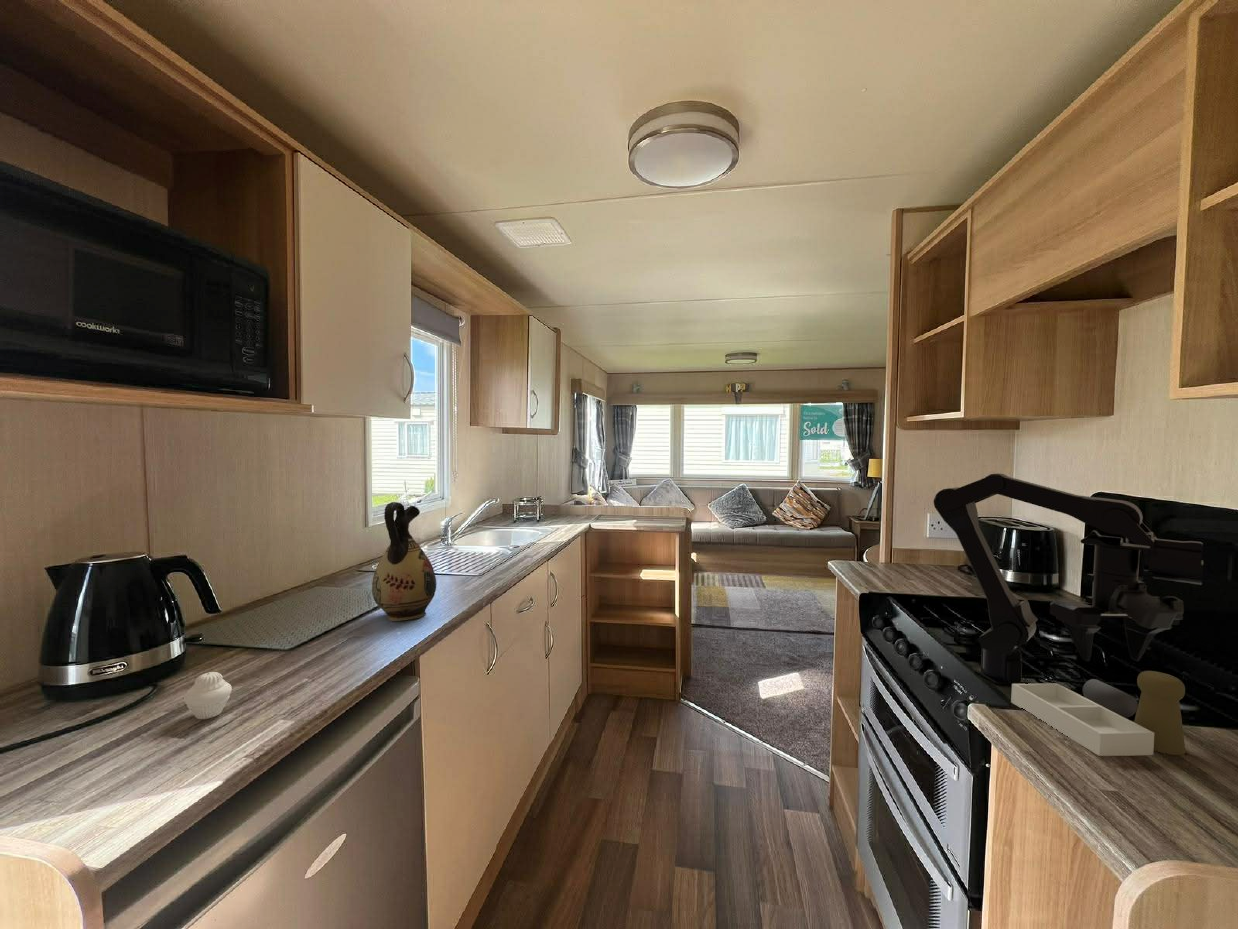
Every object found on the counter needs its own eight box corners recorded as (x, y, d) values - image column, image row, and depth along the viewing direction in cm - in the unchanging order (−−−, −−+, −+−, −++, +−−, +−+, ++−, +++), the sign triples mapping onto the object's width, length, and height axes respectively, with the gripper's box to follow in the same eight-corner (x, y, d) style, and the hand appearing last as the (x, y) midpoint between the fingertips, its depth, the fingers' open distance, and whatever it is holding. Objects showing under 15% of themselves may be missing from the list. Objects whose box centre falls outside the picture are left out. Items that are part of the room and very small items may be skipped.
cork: (1128, 729, 86) (1131, 662, 86) (1181, 742, 82) (1185, 673, 82) (1132, 745, 81) (1136, 675, 81) (1189, 760, 77) (1193, 687, 77)
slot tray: (1011, 702, 94) (1011, 683, 94) (1056, 701, 95) (1057, 683, 95) (1099, 756, 78) (1100, 733, 78) (1153, 755, 79) (1154, 732, 78)
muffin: (239, 703, 90) (238, 663, 89) (221, 722, 84) (221, 678, 83) (196, 707, 88) (196, 666, 88) (175, 726, 82) (175, 682, 82)
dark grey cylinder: (1082, 701, 96) (1082, 679, 96) (1103, 700, 96) (1103, 678, 96) (1115, 718, 90) (1115, 695, 90) (1137, 717, 90) (1137, 694, 90)
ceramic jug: (394, 605, 145) (394, 497, 144) (446, 609, 143) (447, 499, 142) (354, 625, 128) (353, 503, 127) (412, 630, 126) (412, 505, 125)
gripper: (1110, 584, 83) (1105, 681, 84) (1220, 585, 84) (1214, 680, 85) (1049, 568, 95) (1044, 653, 95) (1146, 568, 96) (1141, 653, 96)
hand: (1110, 660), depth 93 cm, fingers open, 9 cm apart
